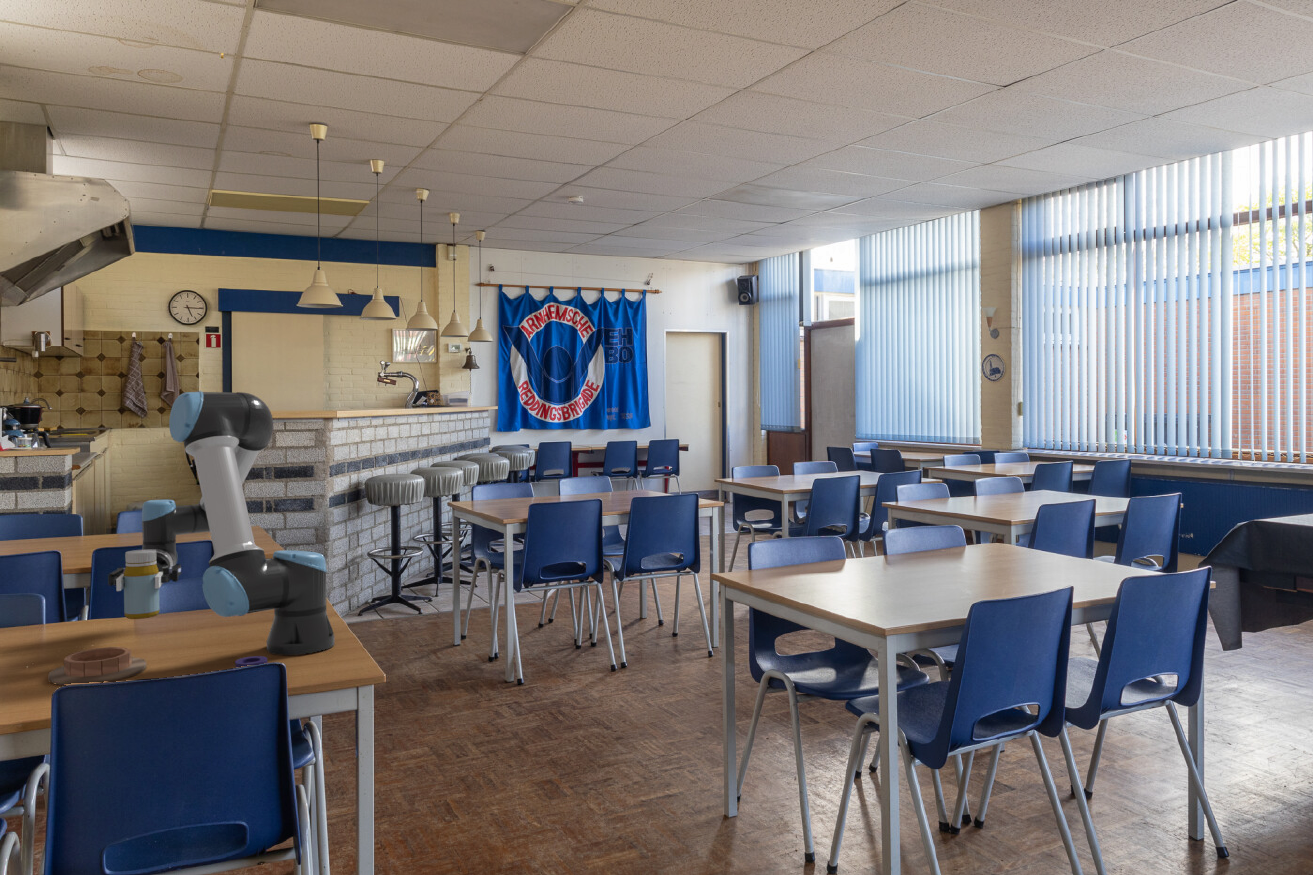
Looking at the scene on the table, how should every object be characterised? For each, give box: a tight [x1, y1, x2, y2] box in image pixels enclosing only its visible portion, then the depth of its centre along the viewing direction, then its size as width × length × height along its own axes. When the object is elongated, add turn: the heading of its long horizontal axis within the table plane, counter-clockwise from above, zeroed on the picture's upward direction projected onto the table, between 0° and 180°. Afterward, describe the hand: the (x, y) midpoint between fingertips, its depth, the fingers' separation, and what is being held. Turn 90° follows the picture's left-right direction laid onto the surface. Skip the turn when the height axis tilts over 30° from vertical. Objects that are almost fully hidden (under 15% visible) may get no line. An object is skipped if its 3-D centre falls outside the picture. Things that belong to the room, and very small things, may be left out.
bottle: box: [123, 549, 160, 620], centre depth 205 cm, size 7×7×15 cm
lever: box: [234, 655, 268, 667], centre depth 190 cm, size 12×6×3 cm, turn 162°
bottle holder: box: [47, 646, 147, 686], centre depth 193 cm, size 18×18×4 cm
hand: (137, 583), depth 200 cm, fingers closed on bottle, 7 cm apart
